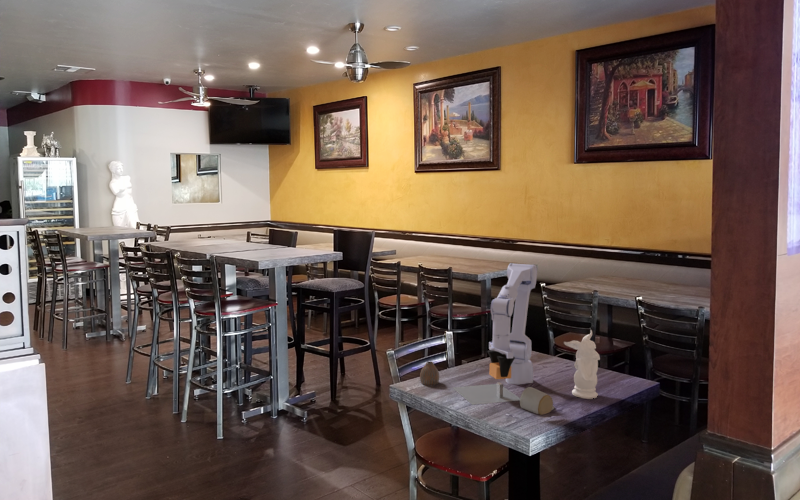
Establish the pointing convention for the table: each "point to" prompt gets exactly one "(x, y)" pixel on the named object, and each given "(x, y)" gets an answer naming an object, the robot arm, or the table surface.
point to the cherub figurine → (585, 367)
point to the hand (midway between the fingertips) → (500, 374)
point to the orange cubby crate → (497, 371)
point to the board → (485, 394)
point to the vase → (429, 374)
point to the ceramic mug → (536, 401)
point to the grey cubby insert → (499, 390)
